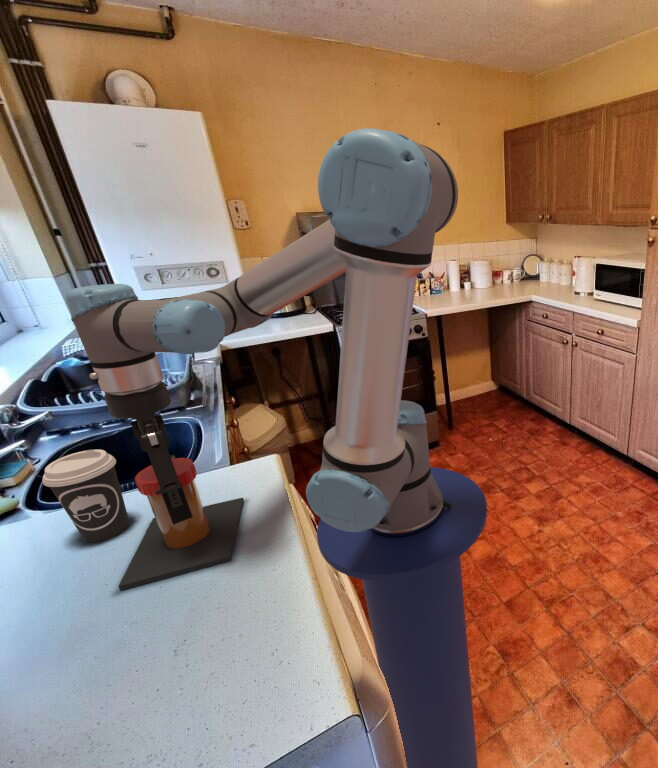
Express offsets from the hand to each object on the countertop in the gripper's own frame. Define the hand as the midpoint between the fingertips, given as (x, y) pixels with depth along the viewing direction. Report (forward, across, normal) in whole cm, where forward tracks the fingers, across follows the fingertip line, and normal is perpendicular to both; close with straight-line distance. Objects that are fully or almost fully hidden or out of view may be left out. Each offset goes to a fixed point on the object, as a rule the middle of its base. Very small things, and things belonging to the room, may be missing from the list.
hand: (178, 507), depth 76 cm
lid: (-7, 0, 0) cm, 7 cm away
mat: (+7, 0, 0) cm, 7 cm away
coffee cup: (+7, -14, -11) cm, 19 cm away
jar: (+6, 0, 0) cm, 6 cm away
